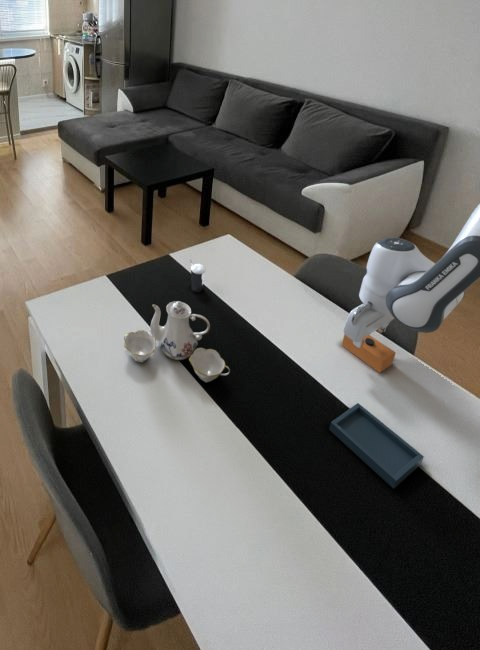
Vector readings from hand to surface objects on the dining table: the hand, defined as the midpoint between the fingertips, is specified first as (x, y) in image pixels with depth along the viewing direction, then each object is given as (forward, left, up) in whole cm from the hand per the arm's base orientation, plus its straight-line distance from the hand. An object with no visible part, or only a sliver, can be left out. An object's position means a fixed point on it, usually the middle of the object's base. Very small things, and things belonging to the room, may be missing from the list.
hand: (368, 337), depth 111 cm
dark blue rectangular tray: (+18, +20, -6) cm, 27 cm away
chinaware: (+49, -13, -6) cm, 51 cm away
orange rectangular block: (0, 0, -6) cm, 6 cm away
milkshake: (+31, -36, -6) cm, 47 cm away
